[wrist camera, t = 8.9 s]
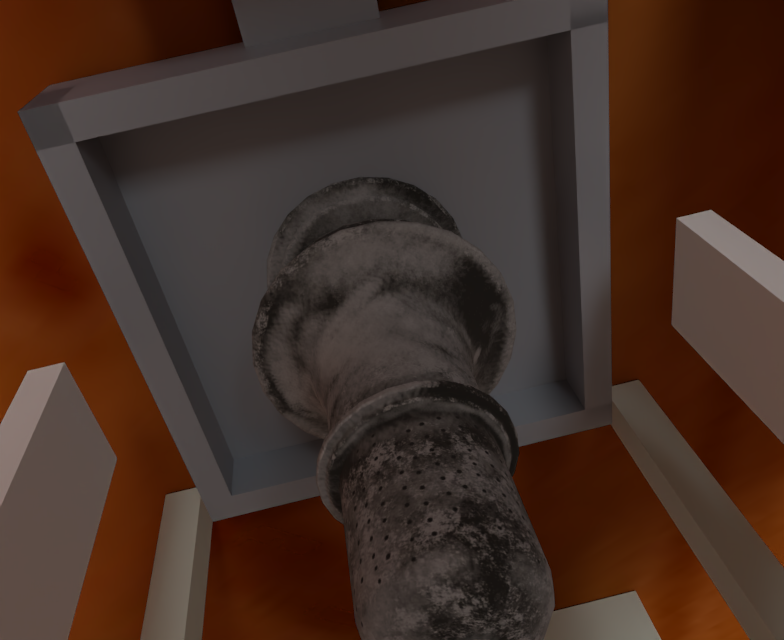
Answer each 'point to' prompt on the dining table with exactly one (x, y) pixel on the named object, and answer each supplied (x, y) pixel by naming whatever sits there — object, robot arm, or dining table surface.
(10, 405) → the robot arm
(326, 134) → the tray
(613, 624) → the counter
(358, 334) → the dark grey tall piece
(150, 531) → the dining table surface
